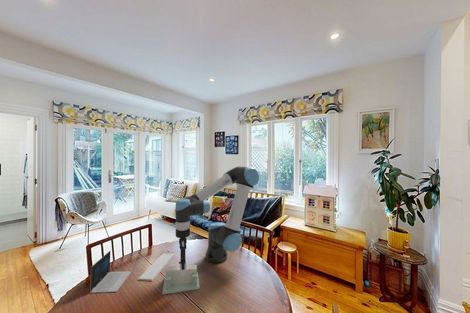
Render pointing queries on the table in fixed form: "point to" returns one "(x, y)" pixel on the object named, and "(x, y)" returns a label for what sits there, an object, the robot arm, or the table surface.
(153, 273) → the baseboard
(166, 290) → the rack
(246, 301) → the table surface
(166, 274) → the white rectangular block
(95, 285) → the laptop
